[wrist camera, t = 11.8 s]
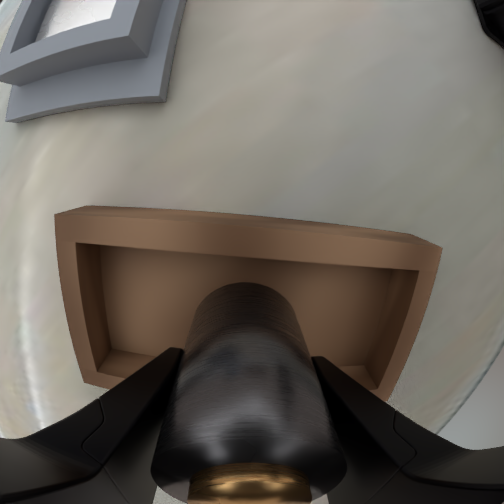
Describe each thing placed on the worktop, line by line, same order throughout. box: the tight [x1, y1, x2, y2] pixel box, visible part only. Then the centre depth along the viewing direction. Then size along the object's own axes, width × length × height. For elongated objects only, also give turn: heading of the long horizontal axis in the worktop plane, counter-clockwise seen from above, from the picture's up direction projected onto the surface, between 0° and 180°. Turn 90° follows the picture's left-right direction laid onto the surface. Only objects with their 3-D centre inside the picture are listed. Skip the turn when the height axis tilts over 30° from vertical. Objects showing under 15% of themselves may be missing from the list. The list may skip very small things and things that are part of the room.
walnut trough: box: [54, 206, 442, 401], centre depth 11 cm, size 15×8×2 cm, turn 85°
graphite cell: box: [150, 282, 347, 504], centre depth 7 cm, size 4×4×7 cm
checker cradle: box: [0, 0, 187, 123], centre depth 6 cm, size 9×11×3 cm
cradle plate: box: [35, 0, 116, 42], centre depth 6 cm, size 5×5×1 cm
